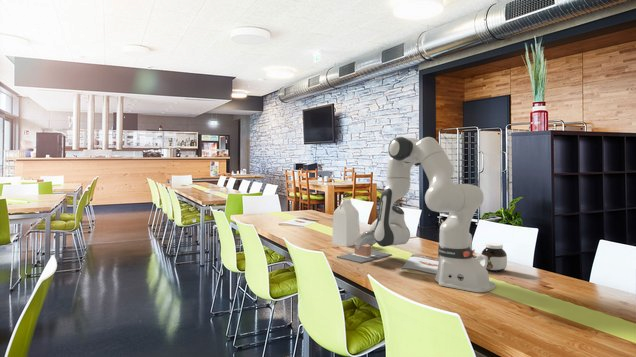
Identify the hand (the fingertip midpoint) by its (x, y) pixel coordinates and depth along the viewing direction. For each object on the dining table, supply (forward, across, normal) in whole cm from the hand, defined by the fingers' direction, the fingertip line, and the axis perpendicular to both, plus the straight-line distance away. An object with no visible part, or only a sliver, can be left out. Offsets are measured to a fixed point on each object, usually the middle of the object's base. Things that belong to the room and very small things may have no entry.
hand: (363, 246), depth 203 cm
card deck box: (+4, 0, +2) cm, 5 cm away
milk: (+23, +16, +16) cm, 32 cm away
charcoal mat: (+3, 0, -4) cm, 5 cm away
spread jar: (-36, +20, -43) cm, 59 cm away
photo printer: (-20, +39, -27) cm, 51 cm away
